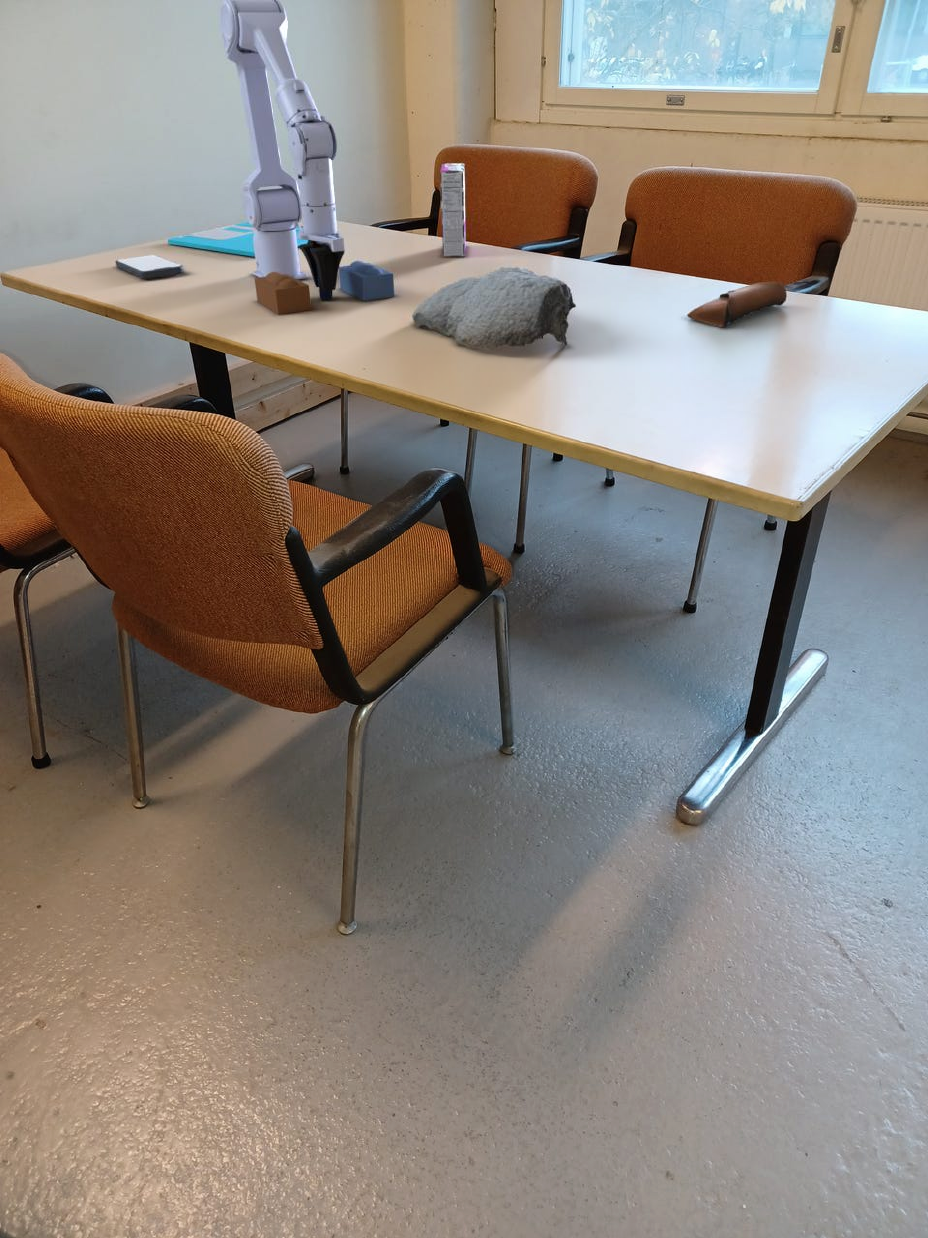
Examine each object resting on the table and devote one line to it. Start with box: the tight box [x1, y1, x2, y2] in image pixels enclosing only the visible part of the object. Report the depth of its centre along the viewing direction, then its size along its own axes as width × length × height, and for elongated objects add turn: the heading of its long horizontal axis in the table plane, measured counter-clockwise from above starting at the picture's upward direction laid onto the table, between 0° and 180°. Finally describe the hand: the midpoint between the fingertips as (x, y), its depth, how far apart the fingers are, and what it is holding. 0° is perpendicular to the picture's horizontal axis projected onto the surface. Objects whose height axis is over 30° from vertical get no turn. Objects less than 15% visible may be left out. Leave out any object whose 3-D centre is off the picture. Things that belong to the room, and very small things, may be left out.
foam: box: [411, 266, 577, 349], centre depth 137 cm, size 28×21×9 cm
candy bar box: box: [439, 162, 467, 258], centre depth 185 cm, size 11×5×16 cm, turn 179°
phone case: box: [115, 254, 185, 280], centre depth 176 cm, size 9×2×16 cm
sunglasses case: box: [686, 281, 788, 329], centre depth 146 cm, size 18×7×7 cm, turn 135°
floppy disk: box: [167, 221, 308, 258], centre depth 200 cm, size 26×28×1 cm
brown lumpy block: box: [254, 272, 312, 315], centre depth 152 cm, size 10×6×5 cm, turn 31°
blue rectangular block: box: [338, 260, 395, 302], centre depth 159 cm, size 10×6×5 cm, turn 31°
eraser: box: [317, 267, 334, 302], centre depth 155 cm, size 2×2×7 cm
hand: (325, 288), depth 155 cm, fingers closed on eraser, 3 cm apart
